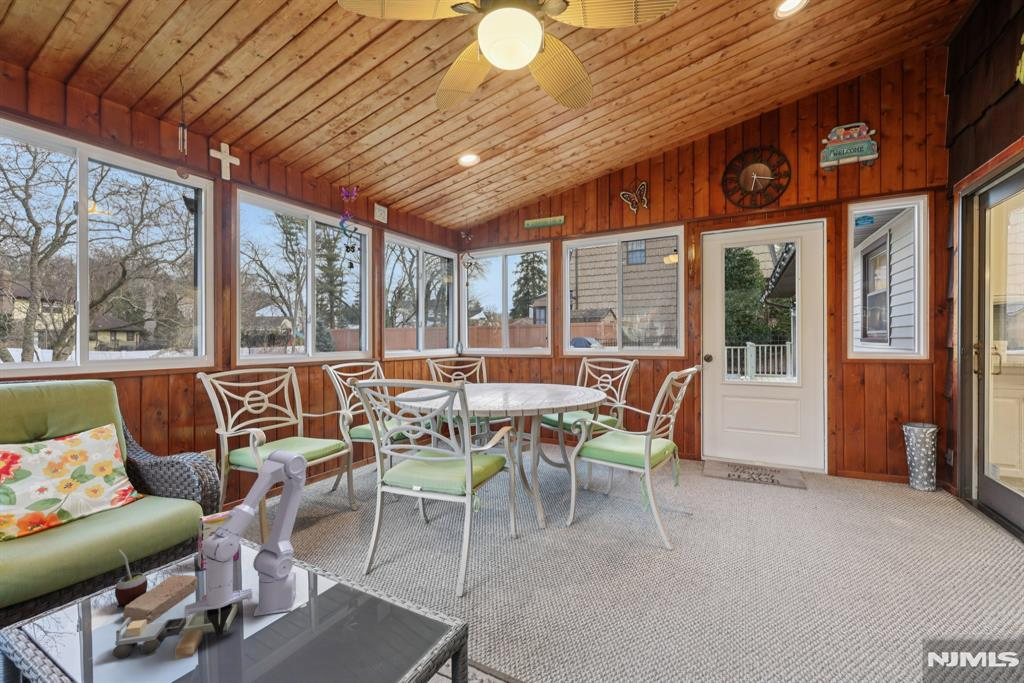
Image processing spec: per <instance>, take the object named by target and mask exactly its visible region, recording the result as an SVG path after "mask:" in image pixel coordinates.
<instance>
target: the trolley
mask: <svg viewBox="0 0 1024 683" xmlns="http://www.w3.org/2000/svg"><path fill="white" fill-rule="evenodd" d="M165 623H166V622H156V623H150V624H147V620H139V621H132V622H131V617H130V618H127V619H126V620H125V621H123V622H122V623H121V625H119V627H118V628H117V629H116V630H115V636H116V637H115V639H116V640H115V643H114V644H115V648H113V651H112V655H113V657H114V658H115V659H119V660H120V659H121V660H122V659H125V658H126V657H128V656H129V654H130V653H131V652H132V651H133V649H134V648H133V647H135V646H136V645H138V643H143V644H142V645H141V646H140V651H141V653H142V654H144V655H148V656H149V655H152V654H154V653H155V652H156V651H157V649H159V647H160V645H161V643H162V641H164V640H165V638H167V636H166V635H167V629H166V628H164V627H165ZM124 628H125V630H124V631H123V629H124ZM122 631H123V632H122Z"/></svg>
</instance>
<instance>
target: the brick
mask: <svg viewBox="0 0 1024 683" xmlns="http://www.w3.org/2000/svg"><path fill="white" fill-rule="evenodd" d="M197 588H198V577H197V576H195V575H192V574H191V575H188V574H181V575H180V574H172V575H170V576H168V577H167V578H165V579H164V580H162V582H159V584H158V585H156V586H155V587H153V588H152V589H150V590H148V591H146V593H145V594H143V595H141V596H140V597H138V598H136V599H135V600H134V601H132V602H131V603H129V604H128V605H126V606H125V607H124V610H123V613H122V614H123V615H122V620H123V622H124V621H125V620H126V619H127V618H130V617H131V622H132V621H139V620H147V625H149V624H152V623H153V622H154V621H156V620H158V619H159V618H160V617H161V616H162V615H164V614H165V613H167V612H169V611H170V610H171V609H172V608H174V607H176V606H177V605H178V604H179V603H182V602H183V601H184V600H185V599H187V597H189V596H190V595H191V594H193V593H194V592H195V591H196V590H197Z"/></svg>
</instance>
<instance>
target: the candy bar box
mask: <svg viewBox="0 0 1024 683" xmlns="http://www.w3.org/2000/svg"><path fill="white" fill-rule="evenodd" d="M231 510H232V509H230V510H226V511H222V512H217V513H213V514H208V515H203V516H201V517H198V548H197V550H198V551H197V554H198V555H197V566H198V568H199V569H200V571H203V570H204V571H206V566H207V562H206V557H205V556H204V555H203V554H202V552H201V548H203V546H204V543H205V541H206V540H207V539H208V538H209V537H210V536H212V535H214V534H215V533H216V531H217V530H218V529H219V528H220V526H221V525H222V524H223V522H224V521H225V519H226V518H227V517H228V513H229V512H230V511H231ZM239 558H240V547H239V548H238V551H237V552H236V553H235V555H234V556H233V562H234V561H237V560H239Z"/></svg>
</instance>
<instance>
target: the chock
mask: <svg viewBox="0 0 1024 683" xmlns="http://www.w3.org/2000/svg"><path fill="white" fill-rule="evenodd" d="M202 640H203V634H202V630H196V631H189V632H185V634H184V636H183V635H182V637H181V639H180V640H179V642H178V644H177V645H176V647H175V650H174V651H175V655H174V657H175V658H174V659H175V660H177V659H182V658H188V657H189V658H190V657H194V655H195V652H196V651H197V649H198V648H199V645H200V644H201V642H202Z"/></svg>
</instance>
